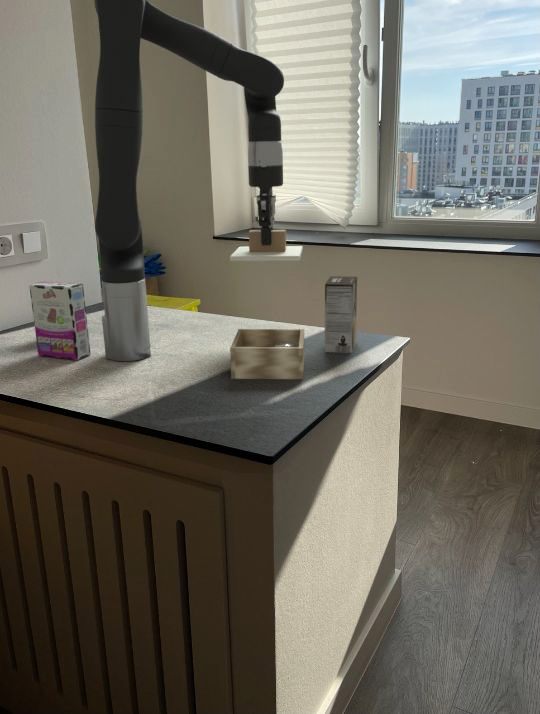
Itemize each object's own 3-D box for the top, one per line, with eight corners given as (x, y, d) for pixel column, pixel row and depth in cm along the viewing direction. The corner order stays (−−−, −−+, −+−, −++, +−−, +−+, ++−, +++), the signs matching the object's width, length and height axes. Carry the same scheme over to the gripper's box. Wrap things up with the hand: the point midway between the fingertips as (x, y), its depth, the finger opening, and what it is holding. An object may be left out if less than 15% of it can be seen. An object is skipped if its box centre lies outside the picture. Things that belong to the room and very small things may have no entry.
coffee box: (328, 343, 150) (329, 275, 145) (356, 344, 149) (357, 276, 144) (323, 355, 141) (324, 283, 136) (353, 356, 140) (354, 284, 135)
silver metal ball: (274, 365, 132) (274, 347, 131) (275, 359, 136) (275, 341, 135) (294, 365, 132) (294, 347, 131) (294, 359, 136) (294, 341, 135)
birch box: (231, 382, 126) (230, 348, 124) (239, 360, 139) (238, 329, 137) (303, 382, 125) (302, 348, 123) (304, 360, 138) (304, 329, 136)
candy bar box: (92, 354, 145) (84, 283, 140) (77, 361, 140) (69, 287, 135) (52, 350, 149) (43, 280, 144) (37, 356, 144) (27, 284, 140)
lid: (230, 261, 139) (229, 235, 137) (239, 250, 153) (238, 227, 151) (299, 260, 137) (299, 234, 136) (302, 250, 152) (302, 226, 150)
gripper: (252, 163, 146) (254, 239, 151) (244, 164, 133) (246, 248, 138) (285, 162, 145) (286, 239, 151) (280, 164, 132) (281, 248, 137)
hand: (267, 243), depth 144 cm, fingers closed on lid, 3 cm apart
